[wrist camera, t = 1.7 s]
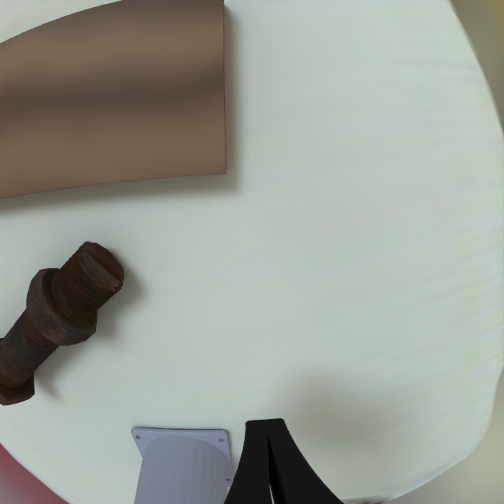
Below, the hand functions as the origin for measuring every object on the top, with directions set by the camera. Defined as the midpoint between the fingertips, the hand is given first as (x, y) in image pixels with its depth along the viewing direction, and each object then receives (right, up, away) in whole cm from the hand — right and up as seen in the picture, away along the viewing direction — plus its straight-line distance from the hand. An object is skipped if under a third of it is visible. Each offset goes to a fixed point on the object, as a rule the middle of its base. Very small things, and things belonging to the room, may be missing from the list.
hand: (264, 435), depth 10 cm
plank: (-17, +15, +3) cm, 23 cm away
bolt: (-14, +3, +8) cm, 16 cm away
